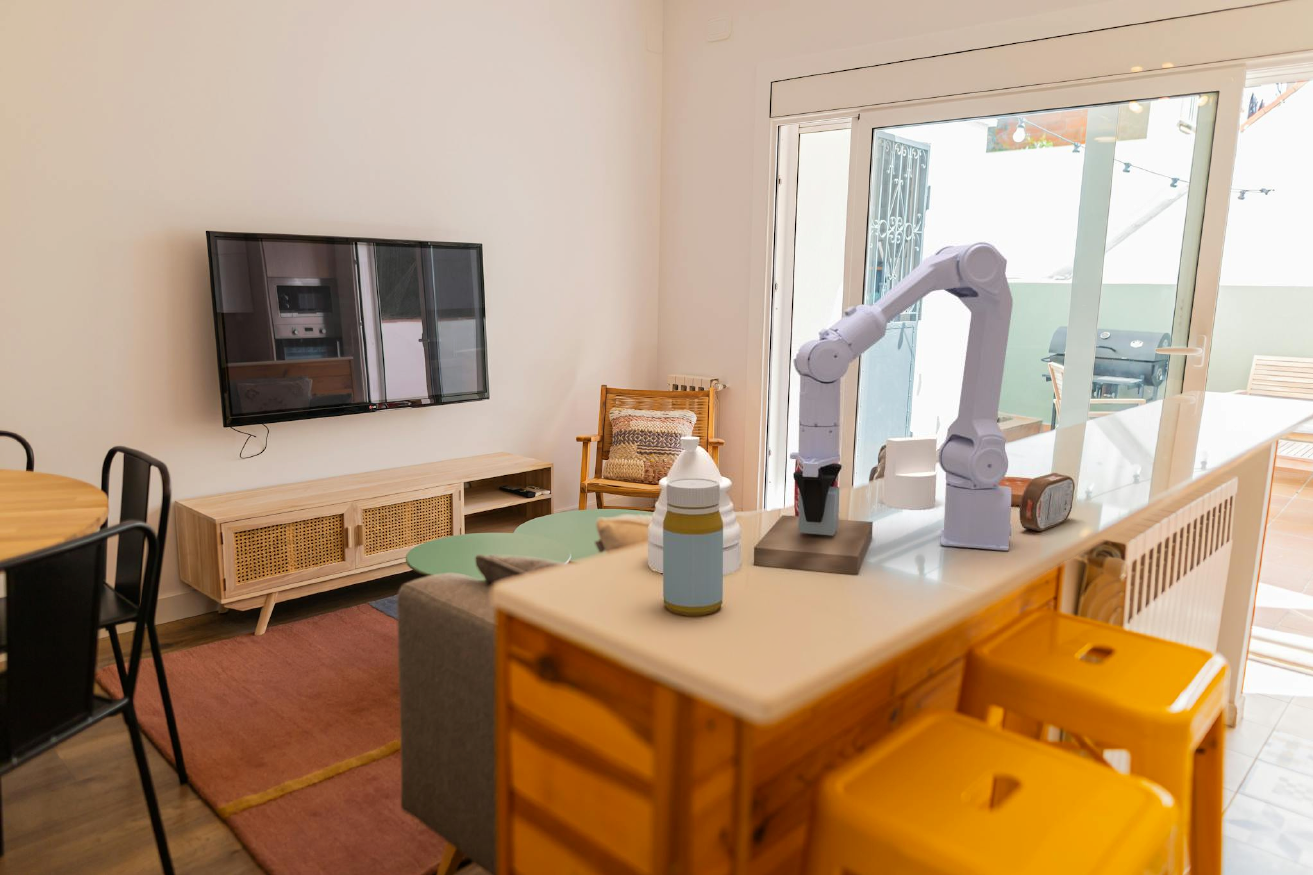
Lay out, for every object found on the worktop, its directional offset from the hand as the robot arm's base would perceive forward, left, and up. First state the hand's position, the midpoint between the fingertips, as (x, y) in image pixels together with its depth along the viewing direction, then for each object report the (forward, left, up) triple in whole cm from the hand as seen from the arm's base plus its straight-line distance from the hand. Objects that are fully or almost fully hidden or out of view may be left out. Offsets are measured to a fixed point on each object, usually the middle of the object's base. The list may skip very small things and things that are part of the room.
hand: (817, 517), depth 126 cm
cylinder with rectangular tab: (-11, -36, -5) cm, 38 cm away
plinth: (0, 0, -5) cm, 5 cm away
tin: (-33, -26, -5) cm, 42 cm away
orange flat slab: (-30, -47, -6) cm, 56 cm away
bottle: (+10, +29, -5) cm, 31 cm away
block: (0, 0, -2) cm, 2 cm away
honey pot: (+15, +12, -5) cm, 20 cm away
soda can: (+3, -18, -5) cm, 19 cm away
